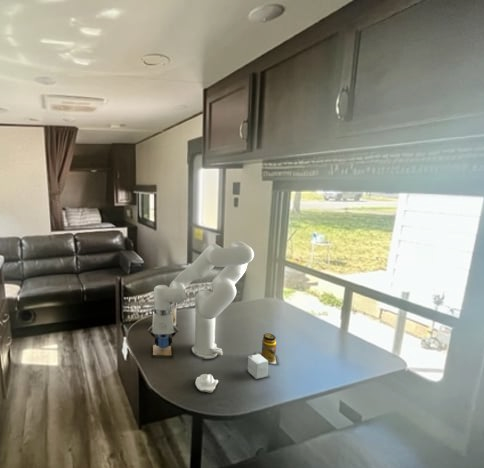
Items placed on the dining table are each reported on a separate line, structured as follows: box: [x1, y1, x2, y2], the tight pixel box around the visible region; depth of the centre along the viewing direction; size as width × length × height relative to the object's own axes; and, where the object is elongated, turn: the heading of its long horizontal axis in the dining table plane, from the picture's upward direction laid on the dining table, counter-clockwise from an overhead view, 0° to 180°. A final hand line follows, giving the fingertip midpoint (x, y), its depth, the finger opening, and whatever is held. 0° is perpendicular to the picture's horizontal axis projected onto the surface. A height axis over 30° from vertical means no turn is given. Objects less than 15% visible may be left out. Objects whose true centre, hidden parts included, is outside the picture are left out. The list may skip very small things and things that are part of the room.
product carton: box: [247, 353, 269, 380], centre depth 131 cm, size 6×6×7 cm
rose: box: [194, 373, 219, 393], centre depth 124 cm, size 10×4×10 cm
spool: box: [157, 334, 169, 348], centre depth 148 cm, size 6×6×5 cm
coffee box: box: [170, 302, 177, 327], centre depth 174 cm, size 9×6×16 cm
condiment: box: [255, 332, 277, 365], centre depth 141 cm, size 7×8×12 cm
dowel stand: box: [152, 344, 172, 356], centre depth 148 cm, size 9×9×7 cm
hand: (163, 344), depth 148 cm, fingers closed on spool, 5 cm apart
